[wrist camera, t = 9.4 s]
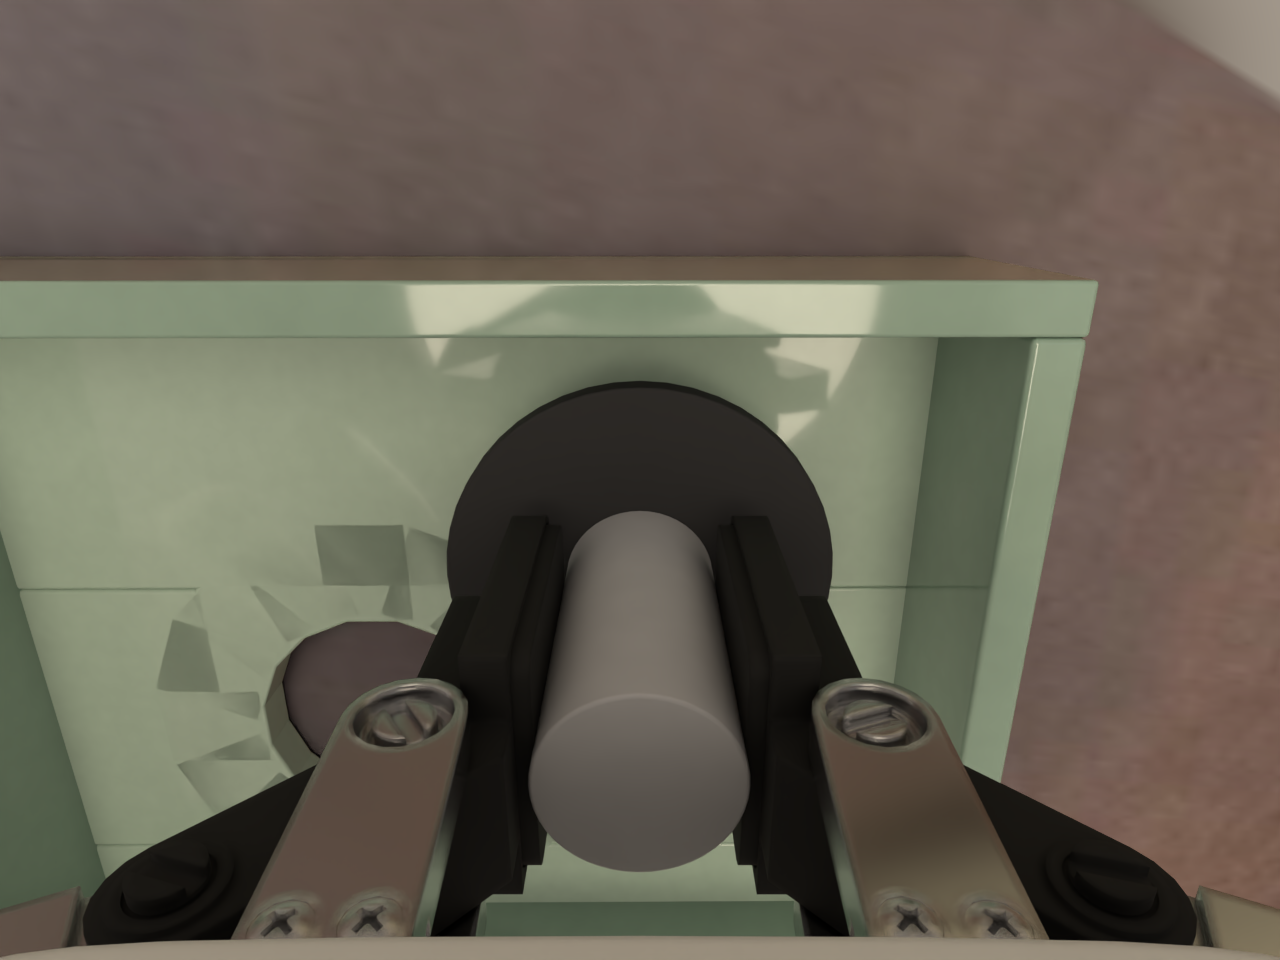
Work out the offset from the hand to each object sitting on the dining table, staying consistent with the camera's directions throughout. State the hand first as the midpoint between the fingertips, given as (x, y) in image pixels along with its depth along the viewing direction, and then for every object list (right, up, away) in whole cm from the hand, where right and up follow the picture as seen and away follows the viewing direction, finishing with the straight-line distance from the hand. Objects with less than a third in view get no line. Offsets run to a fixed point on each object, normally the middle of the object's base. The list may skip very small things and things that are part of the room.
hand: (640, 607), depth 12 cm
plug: (0, +1, +2) cm, 2 cm away
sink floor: (-4, -1, +6) cm, 7 cm away
